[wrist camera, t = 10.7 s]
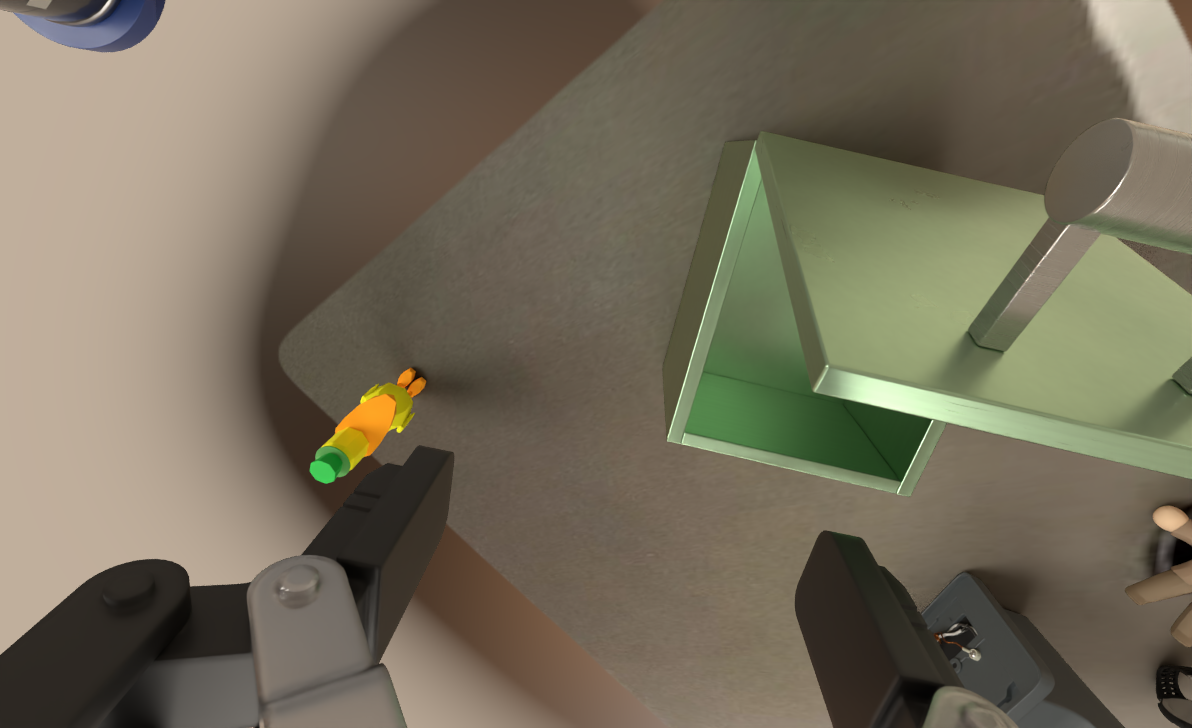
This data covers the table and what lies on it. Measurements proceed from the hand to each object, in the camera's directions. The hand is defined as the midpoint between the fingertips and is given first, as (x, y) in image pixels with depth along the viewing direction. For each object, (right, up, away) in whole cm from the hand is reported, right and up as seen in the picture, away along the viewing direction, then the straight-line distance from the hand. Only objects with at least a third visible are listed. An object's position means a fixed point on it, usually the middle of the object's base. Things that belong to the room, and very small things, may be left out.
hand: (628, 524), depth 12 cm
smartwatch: (+46, -22, +34) cm, 62 cm away
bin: (+12, +9, +26) cm, 30 cm away
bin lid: (+12, +6, +6) cm, 15 cm away
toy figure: (-15, +2, +31) cm, 34 cm away
